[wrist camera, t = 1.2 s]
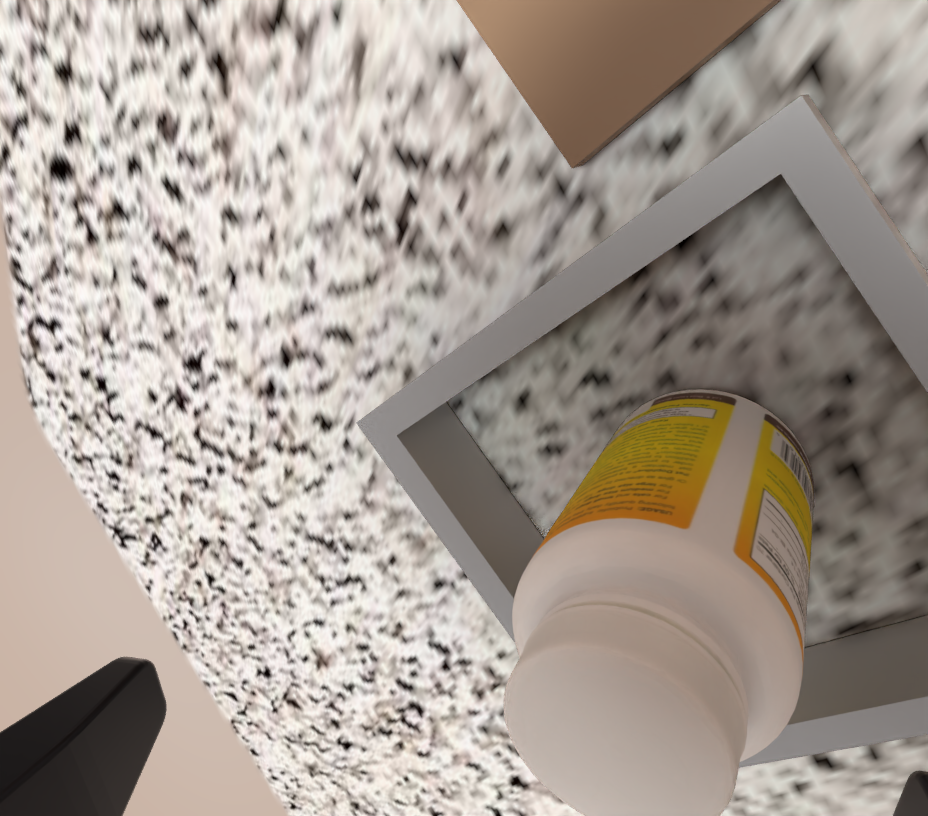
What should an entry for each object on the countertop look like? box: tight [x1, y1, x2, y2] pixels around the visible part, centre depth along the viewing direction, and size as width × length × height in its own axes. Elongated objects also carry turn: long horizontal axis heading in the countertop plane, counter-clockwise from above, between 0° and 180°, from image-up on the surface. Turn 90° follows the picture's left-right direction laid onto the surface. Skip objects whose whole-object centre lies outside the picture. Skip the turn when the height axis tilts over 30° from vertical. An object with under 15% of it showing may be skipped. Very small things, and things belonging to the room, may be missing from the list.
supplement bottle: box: [504, 389, 814, 816], centre depth 16 cm, size 6×6×10 cm
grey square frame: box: [357, 95, 928, 767], centre depth 19 cm, size 14×14×3 cm
